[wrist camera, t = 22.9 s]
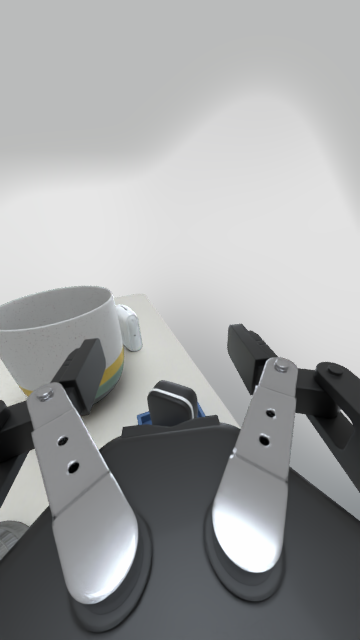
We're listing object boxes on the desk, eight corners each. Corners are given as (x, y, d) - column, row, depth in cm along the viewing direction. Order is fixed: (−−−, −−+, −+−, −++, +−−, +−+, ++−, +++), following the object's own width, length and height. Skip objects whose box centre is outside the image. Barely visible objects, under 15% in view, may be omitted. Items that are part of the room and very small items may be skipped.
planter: (148, 390, 43) (132, 299, 33) (48, 458, 32) (-21, 349, 22) (109, 354, 56) (89, 280, 46) (28, 392, 45) (-20, 305, 35)
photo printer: (145, 347, 58) (138, 309, 52) (131, 353, 56) (123, 314, 50) (129, 334, 65) (122, 299, 60) (116, 339, 63) (108, 303, 57)
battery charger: (201, 436, 33) (200, 385, 28) (192, 459, 30) (190, 407, 25) (164, 421, 36) (157, 373, 30) (153, 441, 33) (143, 390, 27)
